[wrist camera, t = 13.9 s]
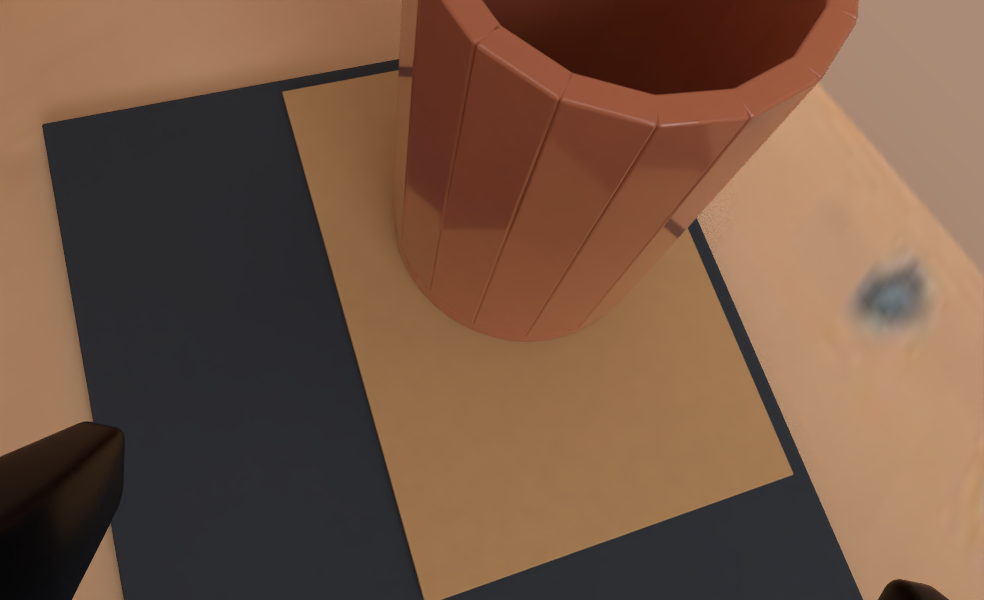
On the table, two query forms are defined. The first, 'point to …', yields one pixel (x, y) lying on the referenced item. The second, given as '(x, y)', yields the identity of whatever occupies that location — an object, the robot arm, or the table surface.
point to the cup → (581, 140)
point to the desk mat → (398, 385)
